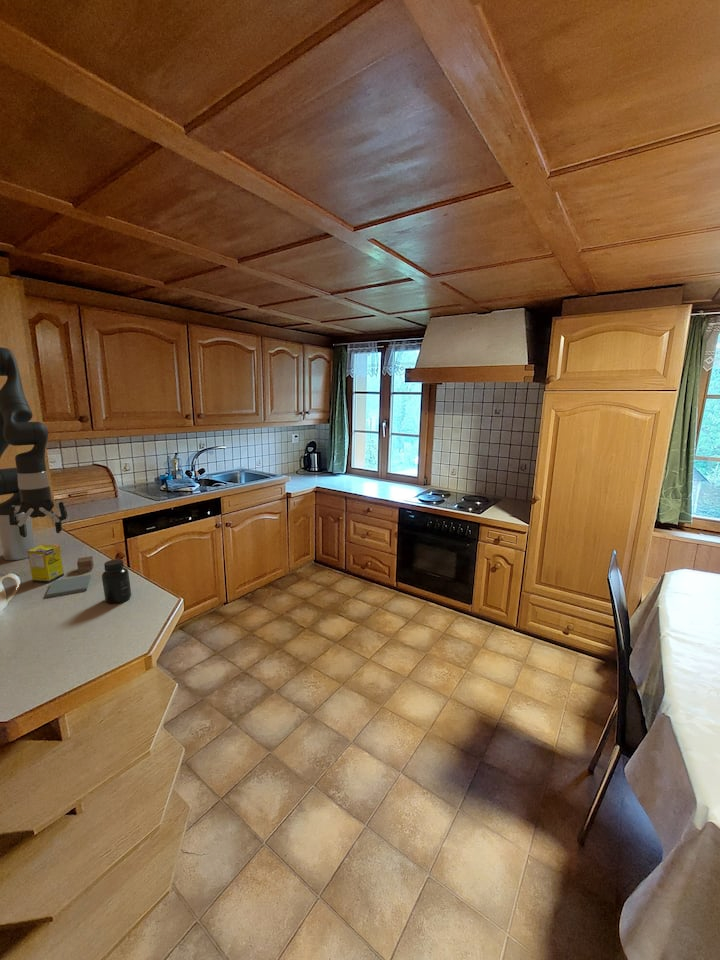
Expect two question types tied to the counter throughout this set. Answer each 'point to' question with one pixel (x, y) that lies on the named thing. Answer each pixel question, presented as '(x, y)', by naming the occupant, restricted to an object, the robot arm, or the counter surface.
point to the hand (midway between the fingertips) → (42, 534)
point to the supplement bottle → (116, 582)
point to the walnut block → (85, 564)
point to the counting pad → (68, 586)
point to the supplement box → (45, 563)
